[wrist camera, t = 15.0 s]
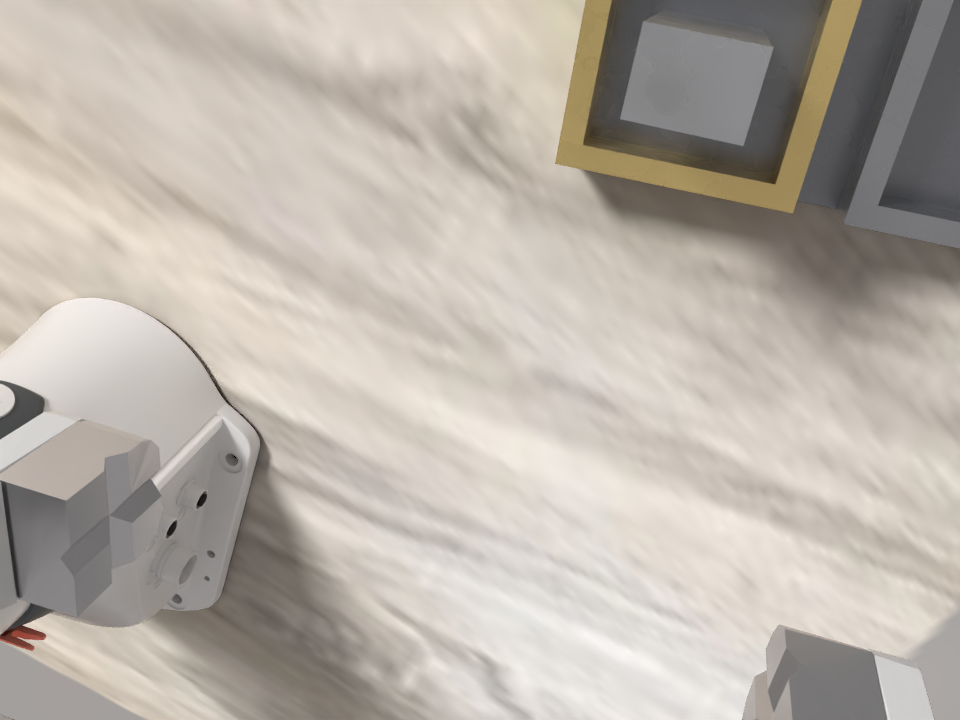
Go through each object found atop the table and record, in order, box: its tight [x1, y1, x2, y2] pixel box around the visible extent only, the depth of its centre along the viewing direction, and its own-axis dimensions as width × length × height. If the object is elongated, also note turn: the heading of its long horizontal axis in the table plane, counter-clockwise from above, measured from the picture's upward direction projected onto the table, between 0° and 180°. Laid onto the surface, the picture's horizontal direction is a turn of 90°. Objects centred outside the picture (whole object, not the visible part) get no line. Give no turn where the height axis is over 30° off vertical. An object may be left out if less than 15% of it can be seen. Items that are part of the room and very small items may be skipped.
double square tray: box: [555, 0, 960, 249], centre depth 33 cm, size 10×22×4 cm, turn 81°
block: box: [620, 10, 774, 146], centre depth 31 cm, size 3×4×10 cm
